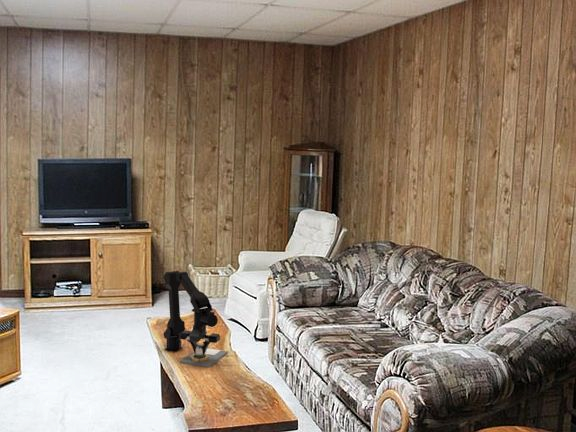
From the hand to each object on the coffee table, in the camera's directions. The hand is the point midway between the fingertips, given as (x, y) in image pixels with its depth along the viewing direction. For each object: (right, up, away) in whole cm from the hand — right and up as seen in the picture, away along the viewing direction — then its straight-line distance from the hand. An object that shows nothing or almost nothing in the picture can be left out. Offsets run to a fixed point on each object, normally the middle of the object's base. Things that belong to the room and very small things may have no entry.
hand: (199, 354), depth 325 cm
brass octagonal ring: (0, -3, 0) cm, 3 cm away
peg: (0, -3, 0) cm, 2 cm away
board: (+2, -3, +5) cm, 6 cm away
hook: (-8, +1, +38) cm, 39 cm away
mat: (+4, -1, +11) cm, 12 cm away
